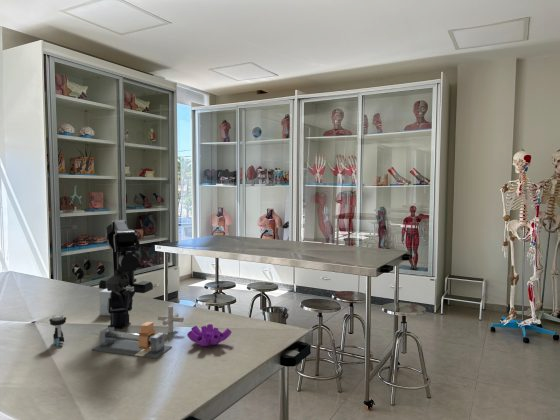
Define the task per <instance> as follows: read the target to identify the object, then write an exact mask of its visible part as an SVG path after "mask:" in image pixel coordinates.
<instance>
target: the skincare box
mask: <svg viewBox="0 0 560 420" xmlns="http://www.w3.org/2000/svg"><path fill="white" fill-rule="evenodd" d="M110 292H111V291H108V290H107V289H102V290H100V291H99V316H110V313H108V308H107V304H108V298H110ZM110 309H111V308H110Z"/></svg>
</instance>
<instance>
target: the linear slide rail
mask: <svg viewBox="0 0 560 420" xmlns="http://www.w3.org/2000/svg"><path fill="white" fill-rule="evenodd" d="M114 339H116V340H124V341H132V342H139V333H133V332H124V331H118V330H117V331H116V330H115V328H114V327H108V326H107V328H105V329H101V330H100V332H99V342H100V343H99V345H100V347H107V346H109V345H110V344H112V343H114V342H115V341H114ZM148 343H151V353H152V354H157V353H159V352H160V351H162V350H163V349H164V345H165V332H158V333H155V335H154V336H153V335H149V336H148Z"/></svg>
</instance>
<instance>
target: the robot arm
mask: <svg viewBox="0 0 560 420" xmlns="http://www.w3.org/2000/svg"><path fill="white" fill-rule="evenodd" d="M104 235H105V241H106V242H107V246H108V247H109V248H110V250H111V259H112V260H111V261H112V276H111V277H107V278H104V279H101V280H100V281H99V283H98V289H99V290H101V289H102V290H104V289H107V290H108V291H111V292H110V298H108V304H107V308H108V313H110V315H109V317H110V319H109V320H110V321H109V323H110V324H109V325H107V328H108V327H114V329H117V330H118V329H119V330H121V329H124V328H126V327H128V326H130V325H131V324H132V322H130V313H129V312H131V311H132V310H133V301H134V300H133V298H134V295H136V293H138V294H146V293H147V292H149V291H152V290H153V288H154V285H153V283H152V281H147V280H141V281H140V282H137V278H135V272H136V271H137V269H138V268H139V265H140V263H139V262H140V261H139V259H138V258H137V256H136V255H135V252H139V251H140V250H139V249H140V248H141V247H140V246H141V245H140V239H139V236H138V233H136V231H135V229H134V230H133V229H130V228H129V226H128V225H127V221H126V220H125V219H113V220H111V223H110V224H109V225H108V226H107V227H105V234H104ZM110 308H111V309H110Z"/></svg>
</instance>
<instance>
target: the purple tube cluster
mask: <svg viewBox="0 0 560 420" xmlns="http://www.w3.org/2000/svg"><path fill="white" fill-rule="evenodd" d="M231 334H232V331H231V329H229V328H225V330H224V331H223V332H221V331H220V330H219V327H214V325H213V324H212V323H211V324H210V323H208V324H207V325H203V326H201V328H200V327H198V325H194V326H193V327H191V328H190V331H189V332H187V333H186V336H187V338H188V339H189V340H190V341H192V342H194V343H195V344H199V346H201V347H209V346H215V345H218V344H219V343H221V342H224V341H225V340H226V339H228V338H229V337H230V336H231Z"/></svg>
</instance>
